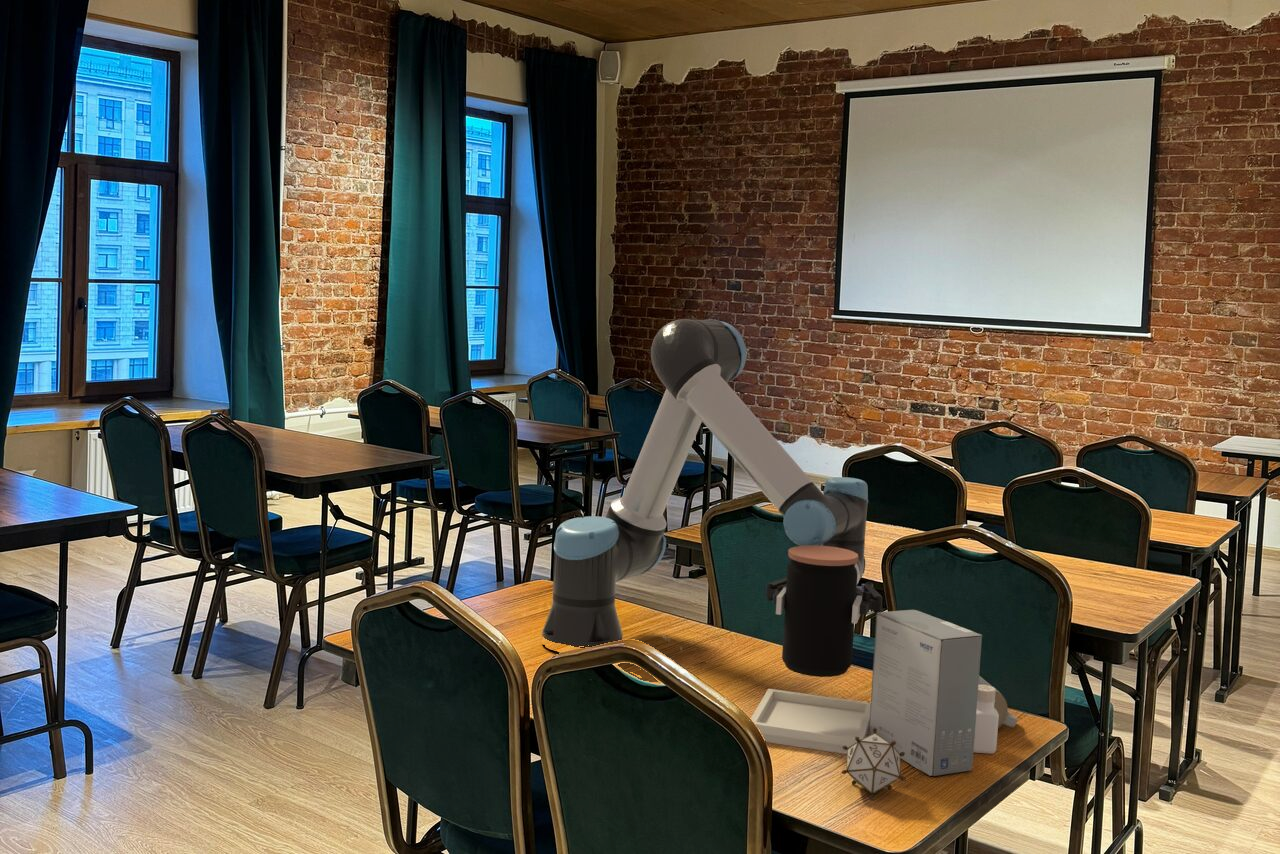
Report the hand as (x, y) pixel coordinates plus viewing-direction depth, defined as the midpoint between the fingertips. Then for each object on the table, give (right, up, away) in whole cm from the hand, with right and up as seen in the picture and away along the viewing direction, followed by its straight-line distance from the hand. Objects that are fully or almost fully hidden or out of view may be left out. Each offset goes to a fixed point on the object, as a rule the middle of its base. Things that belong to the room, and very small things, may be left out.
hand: (816, 610), depth 174 cm
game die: (+5, -22, -17) cm, 28 cm away
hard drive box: (+15, -21, -3) cm, 26 cm away
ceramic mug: (+28, -20, +11) cm, 36 cm away
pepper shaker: (+25, -21, 0) cm, 32 cm away
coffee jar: (+1, -10, +5) cm, 11 cm away
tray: (0, -19, +6) cm, 20 cm away
